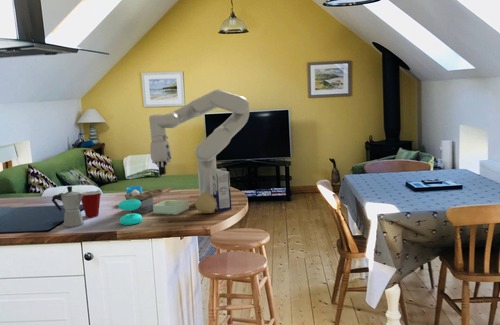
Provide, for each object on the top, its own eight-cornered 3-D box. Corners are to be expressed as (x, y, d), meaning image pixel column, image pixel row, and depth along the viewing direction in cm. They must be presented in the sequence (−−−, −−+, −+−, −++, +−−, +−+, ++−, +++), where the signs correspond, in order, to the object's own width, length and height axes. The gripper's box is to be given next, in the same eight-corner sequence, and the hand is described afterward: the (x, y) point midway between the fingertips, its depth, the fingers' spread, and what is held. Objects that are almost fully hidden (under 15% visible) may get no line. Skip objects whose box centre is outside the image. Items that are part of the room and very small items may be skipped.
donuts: (142, 201, 224) (120, 204, 220) (144, 223, 226) (122, 226, 222) (138, 197, 233) (116, 200, 230) (140, 218, 235) (118, 221, 231)
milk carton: (214, 207, 247) (211, 167, 244) (227, 206, 249) (224, 166, 246) (218, 211, 240) (215, 169, 237) (231, 209, 242) (229, 168, 239)
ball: (142, 196, 253) (139, 188, 253) (137, 197, 250) (134, 190, 250) (135, 197, 255) (133, 190, 255) (131, 199, 252) (128, 191, 251)
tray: (189, 209, 247) (188, 201, 247) (176, 214, 237) (176, 206, 237) (166, 207, 253) (165, 200, 252) (153, 213, 243) (152, 205, 242)
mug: (139, 204, 264) (137, 189, 262) (124, 204, 266) (123, 189, 264) (148, 199, 275) (147, 184, 274) (134, 199, 277) (133, 184, 276)
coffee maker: (90, 221, 235) (86, 183, 232) (85, 226, 226) (80, 187, 223) (58, 223, 234) (53, 185, 231) (51, 229, 226) (46, 189, 223)
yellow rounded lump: (220, 210, 242) (218, 188, 240) (215, 216, 230) (213, 193, 228) (200, 210, 243) (198, 189, 242) (194, 217, 232) (192, 194, 230)
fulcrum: (159, 207, 255) (158, 196, 254) (145, 213, 244) (144, 202, 243) (146, 206, 258) (145, 196, 257) (132, 212, 247) (131, 201, 247)
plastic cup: (107, 212, 250) (105, 189, 248) (98, 218, 239) (96, 193, 237) (86, 213, 251) (84, 189, 249) (77, 219, 241) (74, 194, 239)
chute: (173, 189, 259) (171, 181, 259) (152, 197, 243) (150, 189, 242) (149, 194, 266) (147, 187, 266) (127, 202, 250) (124, 194, 249)
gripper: (175, 137, 255) (178, 173, 258) (151, 138, 262) (155, 172, 265) (166, 139, 248) (170, 176, 251) (142, 140, 255) (146, 175, 258)
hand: (162, 174), depth 258 cm, fingers closed
